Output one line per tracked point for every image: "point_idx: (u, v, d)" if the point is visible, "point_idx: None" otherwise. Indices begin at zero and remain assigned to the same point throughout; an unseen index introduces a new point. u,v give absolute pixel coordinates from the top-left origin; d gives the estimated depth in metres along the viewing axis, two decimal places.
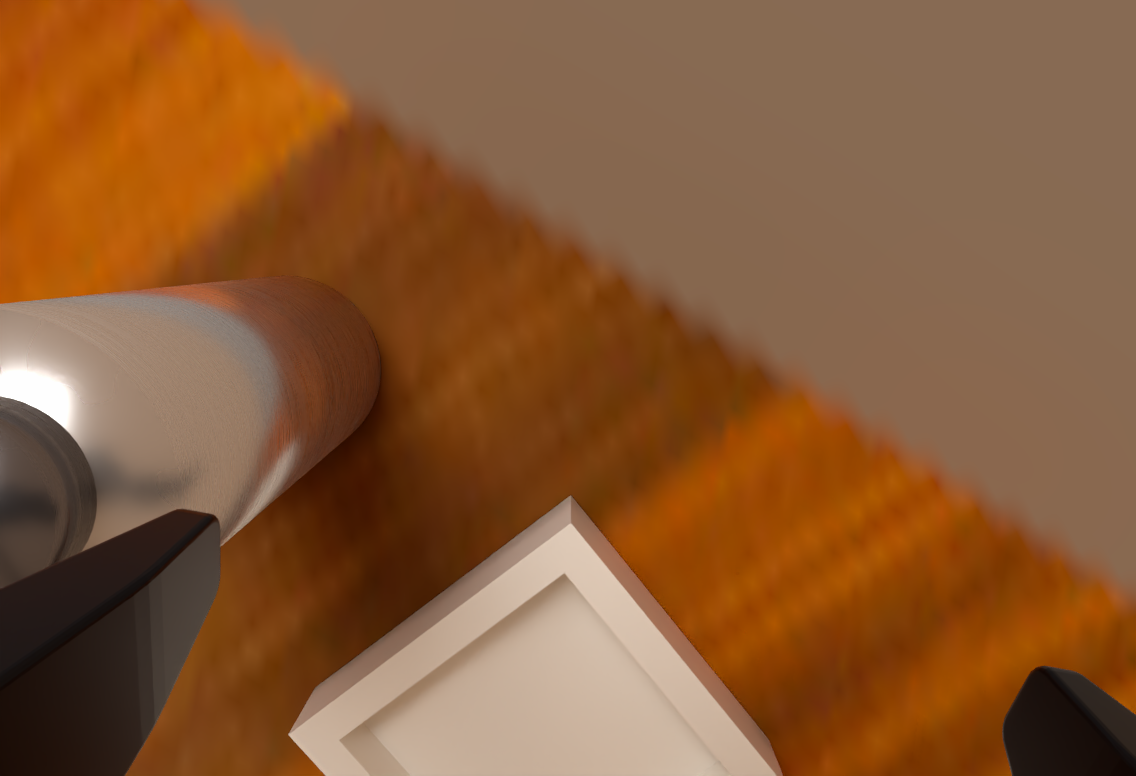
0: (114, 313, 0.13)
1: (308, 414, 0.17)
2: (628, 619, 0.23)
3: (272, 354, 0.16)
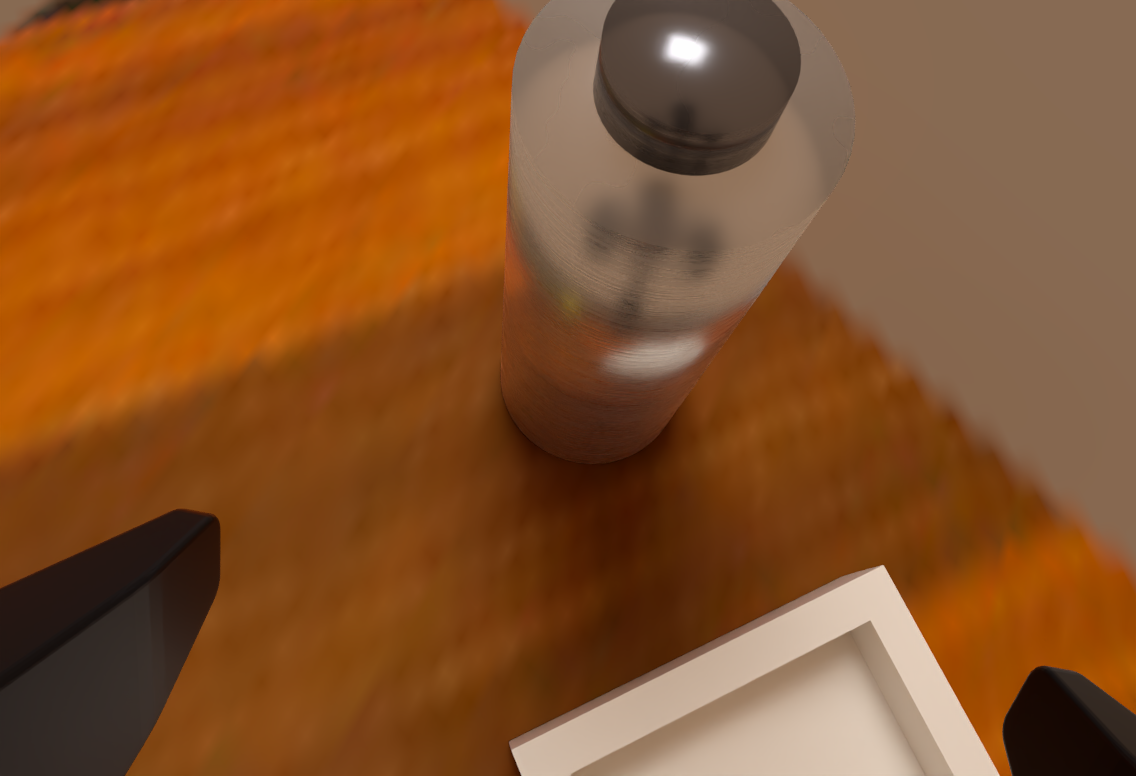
0: None
1: None
2: (935, 694, 0.20)
3: None
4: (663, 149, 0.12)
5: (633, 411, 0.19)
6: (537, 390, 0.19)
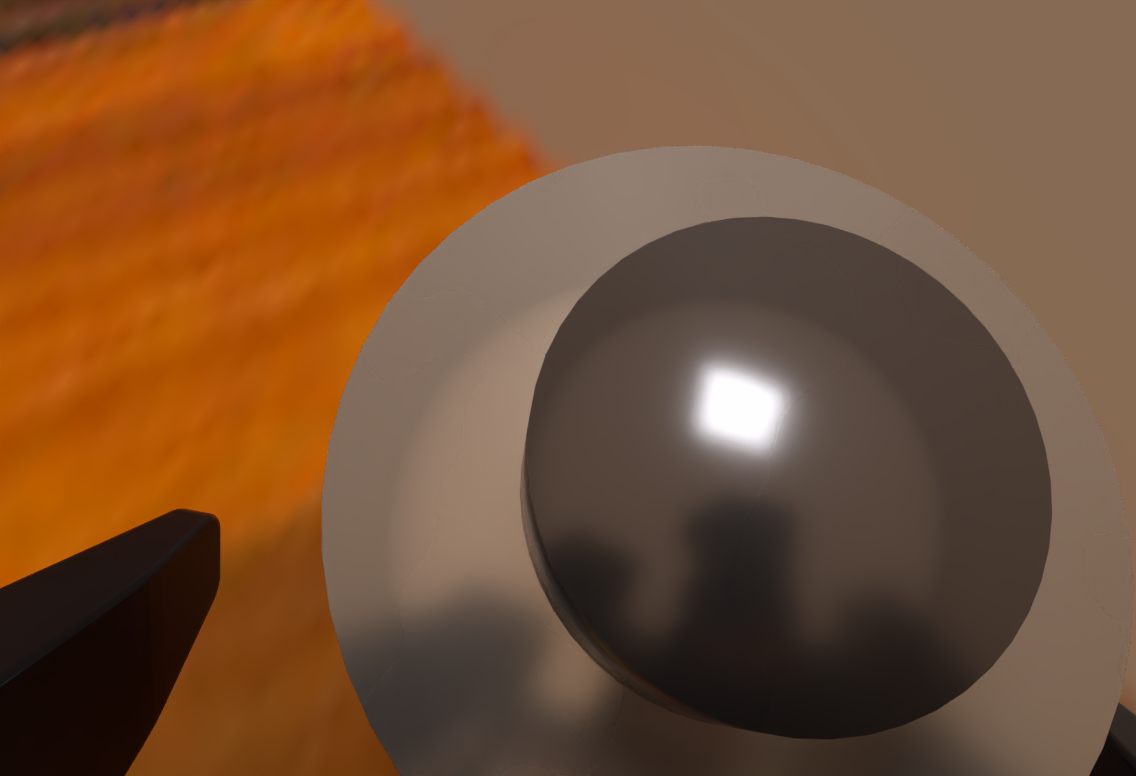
0: None
1: None
2: None
3: None
4: (691, 715, 0.04)
5: None
6: None
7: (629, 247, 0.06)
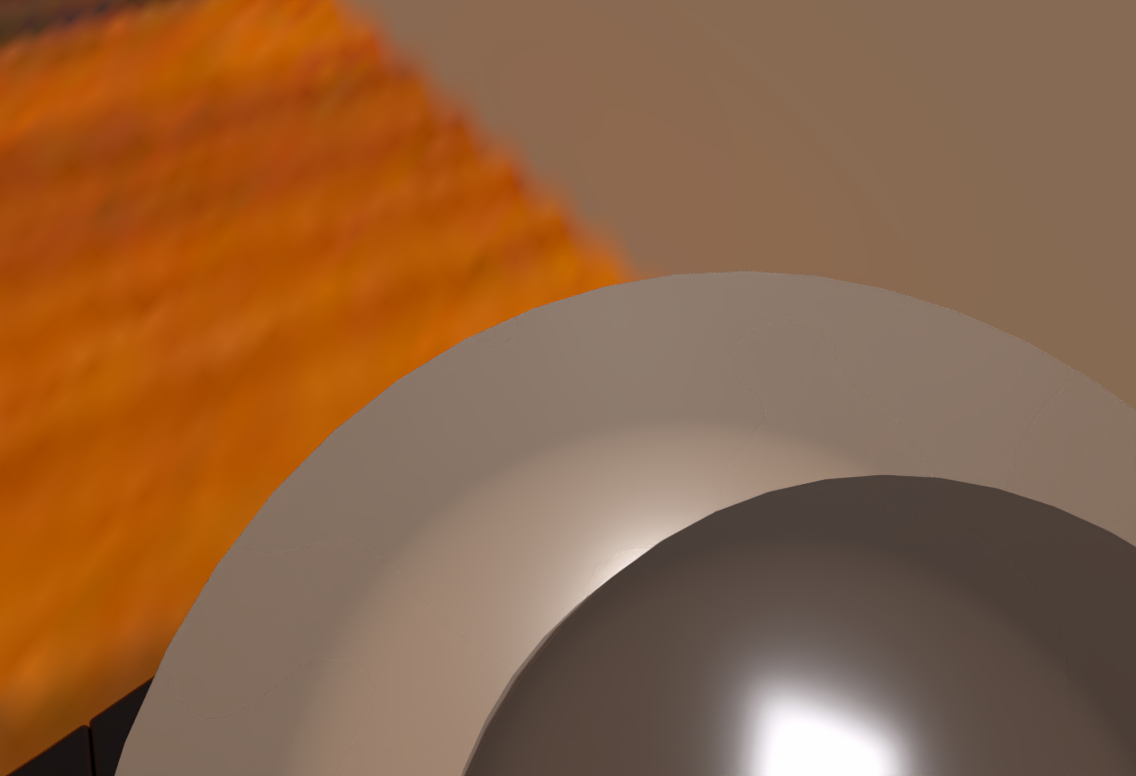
0: None
1: None
2: None
3: None
4: None
5: None
6: None
7: (628, 452, 0.04)
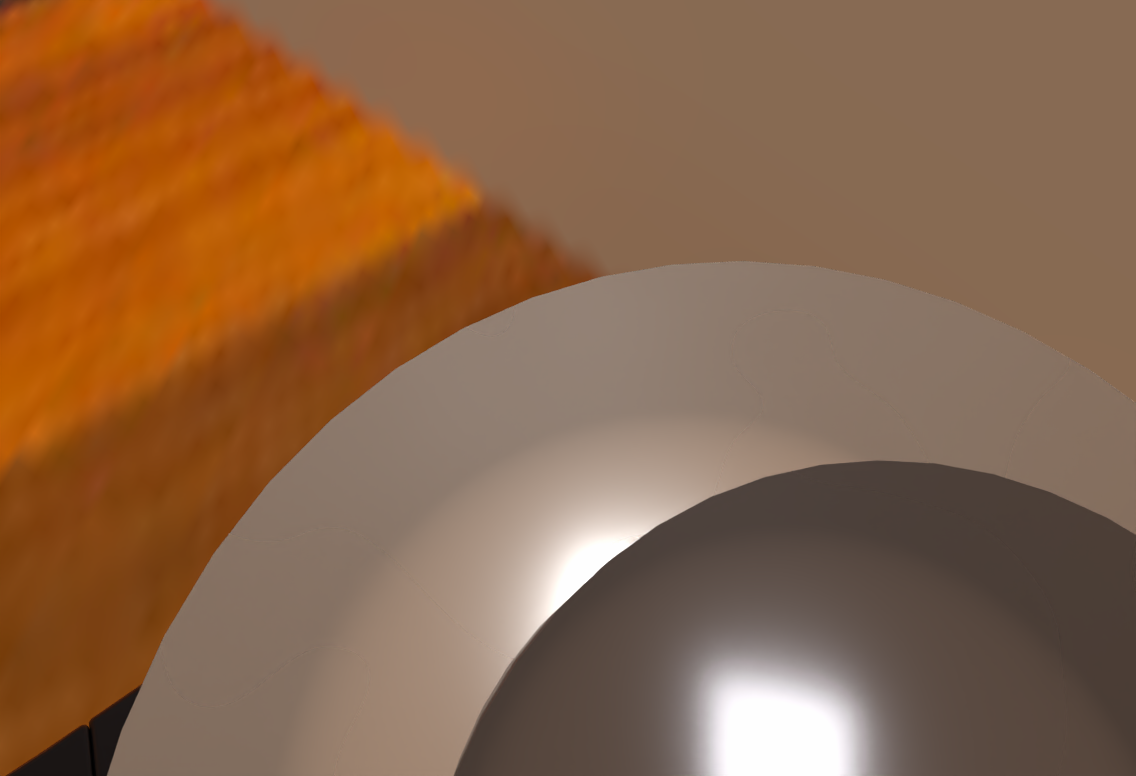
0: None
1: None
2: None
3: None
4: None
5: None
6: None
7: (625, 441, 0.04)
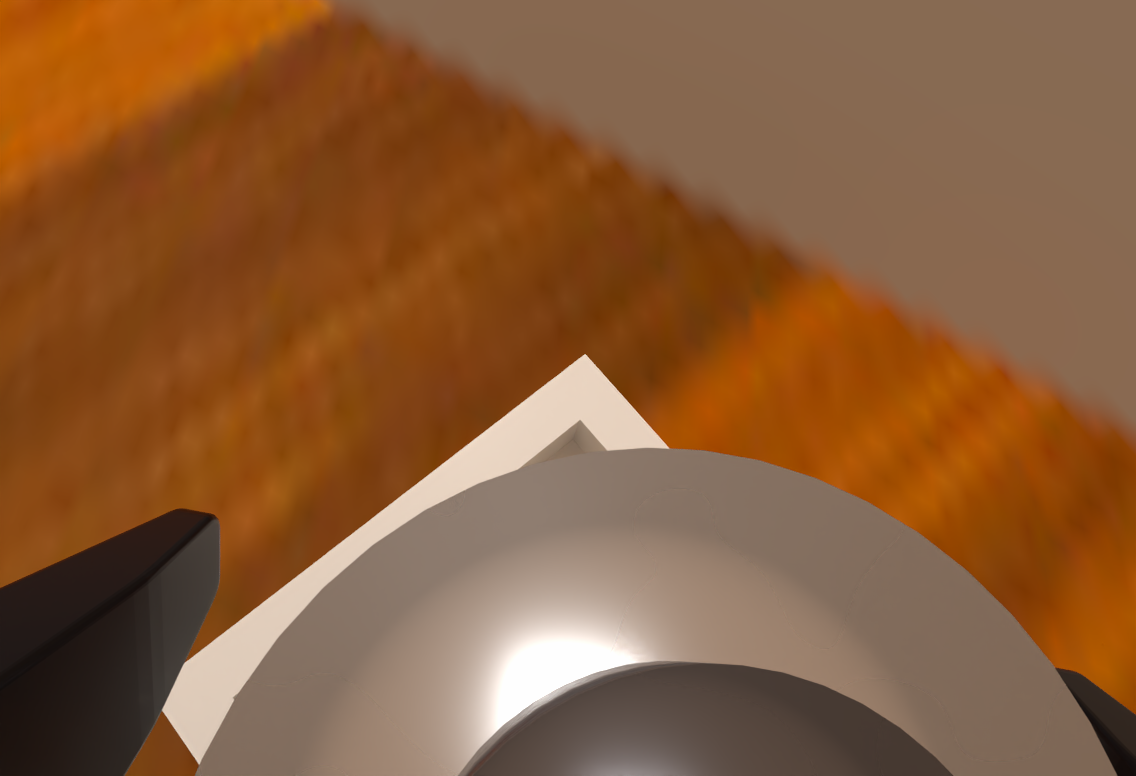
0: None
1: None
2: None
3: None
4: None
5: None
6: None
7: (547, 601, 0.05)
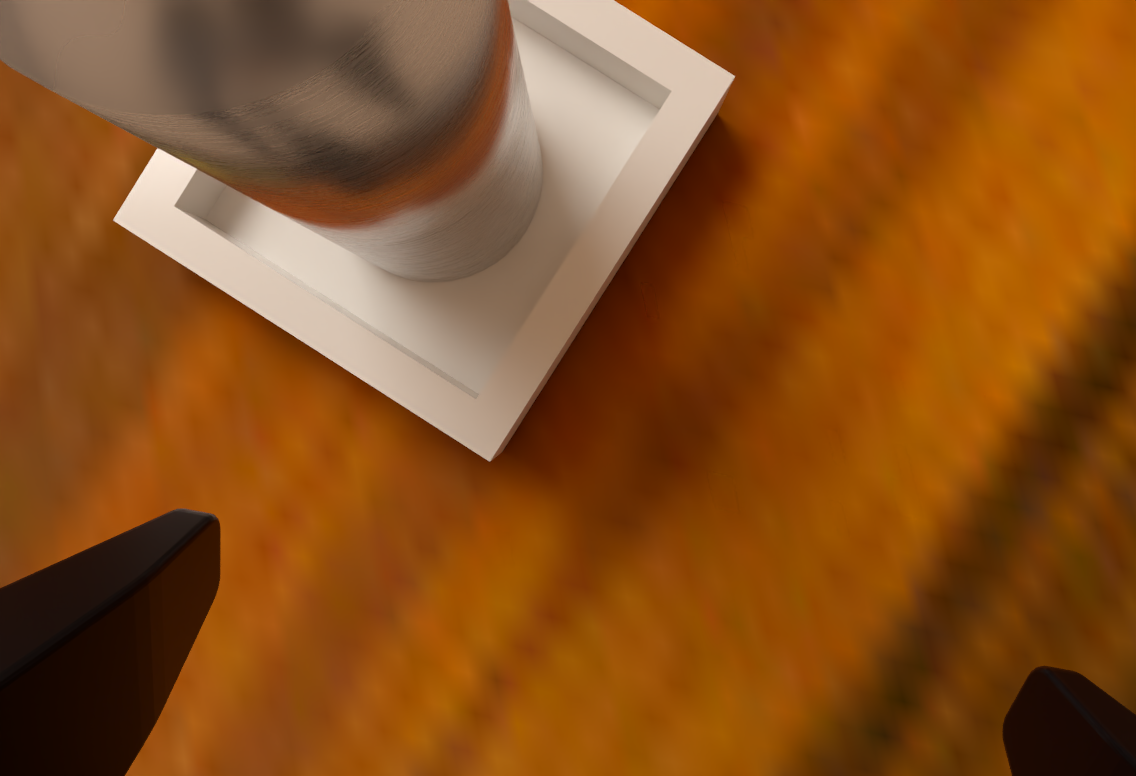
0: None
1: (517, 58, 0.13)
2: None
3: None
4: None
5: (444, 235, 0.15)
6: (333, 242, 0.16)
7: None
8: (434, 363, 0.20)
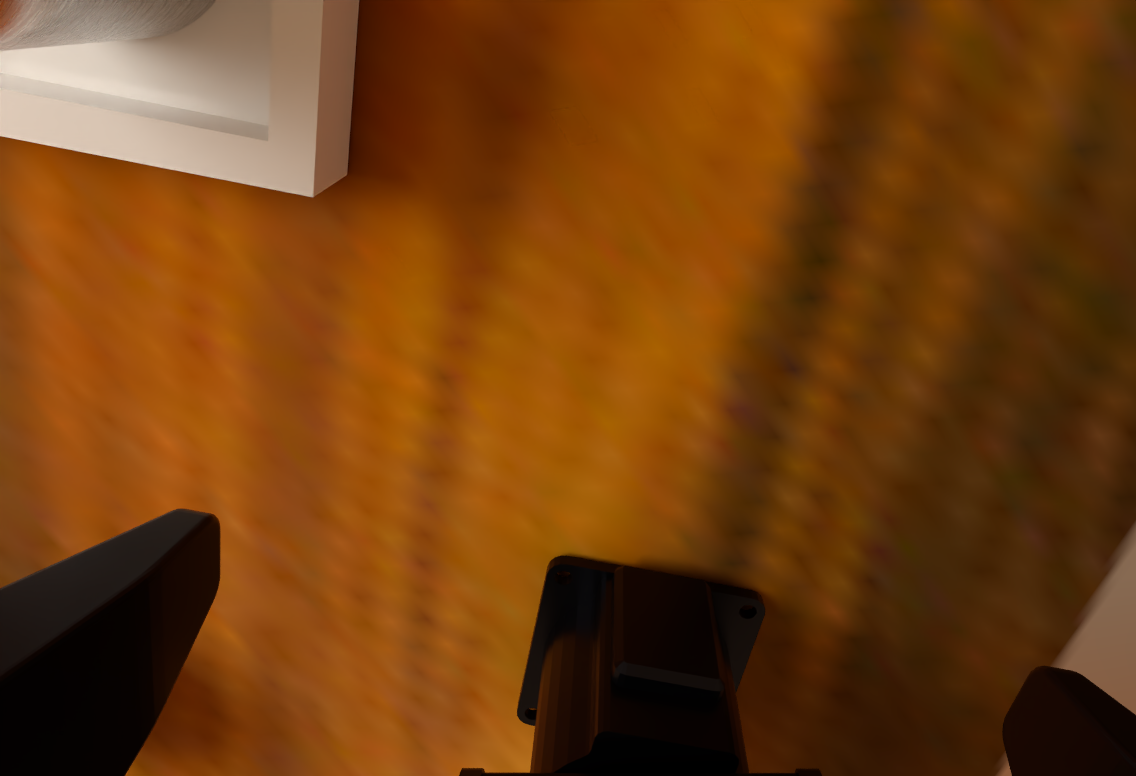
0: None
1: None
2: None
3: None
4: None
5: None
6: None
7: None
8: (229, 115, 0.19)
